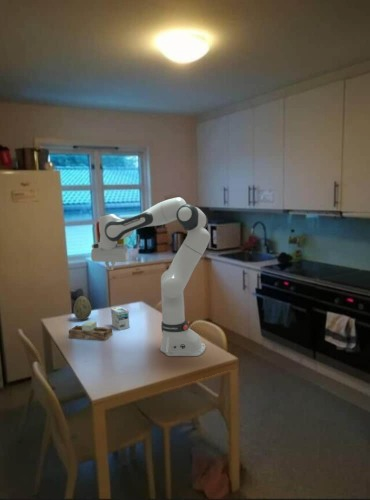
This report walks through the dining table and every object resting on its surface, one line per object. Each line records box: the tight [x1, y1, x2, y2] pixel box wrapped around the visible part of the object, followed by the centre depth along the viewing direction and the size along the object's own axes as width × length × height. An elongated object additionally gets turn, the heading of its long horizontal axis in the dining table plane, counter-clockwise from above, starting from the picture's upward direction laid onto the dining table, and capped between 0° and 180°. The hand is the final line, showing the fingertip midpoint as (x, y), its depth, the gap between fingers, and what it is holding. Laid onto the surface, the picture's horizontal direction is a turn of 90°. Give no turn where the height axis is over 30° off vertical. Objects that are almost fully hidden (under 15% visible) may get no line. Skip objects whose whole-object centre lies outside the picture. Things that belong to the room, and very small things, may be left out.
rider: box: [81, 320, 98, 331], centre depth 210 cm, size 5×7×5 cm
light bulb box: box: [110, 305, 130, 331], centre depth 224 cm, size 11×7×11 cm, turn 34°
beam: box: [68, 324, 113, 341], centre depth 210 cm, size 22×8×4 cm, turn 75°
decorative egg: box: [72, 295, 92, 321], centre depth 238 cm, size 11×11×15 cm
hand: (110, 269), depth 207 cm, fingers closed
